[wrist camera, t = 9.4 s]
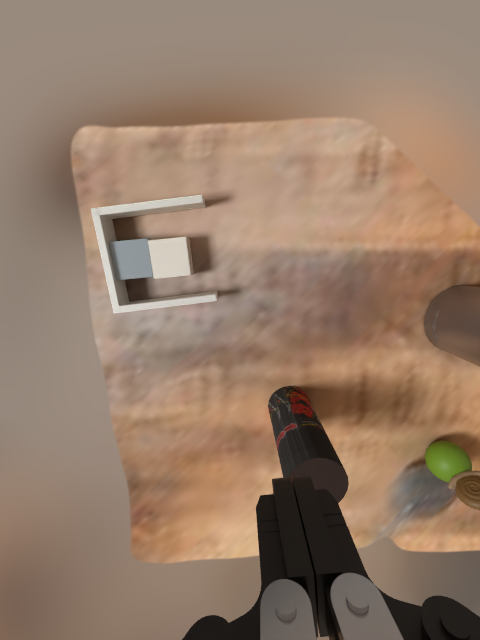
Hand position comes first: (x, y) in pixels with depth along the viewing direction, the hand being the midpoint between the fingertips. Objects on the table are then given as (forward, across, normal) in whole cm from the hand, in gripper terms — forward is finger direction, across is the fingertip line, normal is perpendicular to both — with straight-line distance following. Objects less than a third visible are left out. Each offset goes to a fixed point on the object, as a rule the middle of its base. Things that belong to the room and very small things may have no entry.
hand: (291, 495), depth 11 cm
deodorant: (+29, -4, +12) cm, 32 cm away
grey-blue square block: (+29, +14, -10) cm, 33 cm away
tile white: (+29, +9, -10) cm, 32 cm away
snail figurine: (+29, -26, +22) cm, 45 cm away
